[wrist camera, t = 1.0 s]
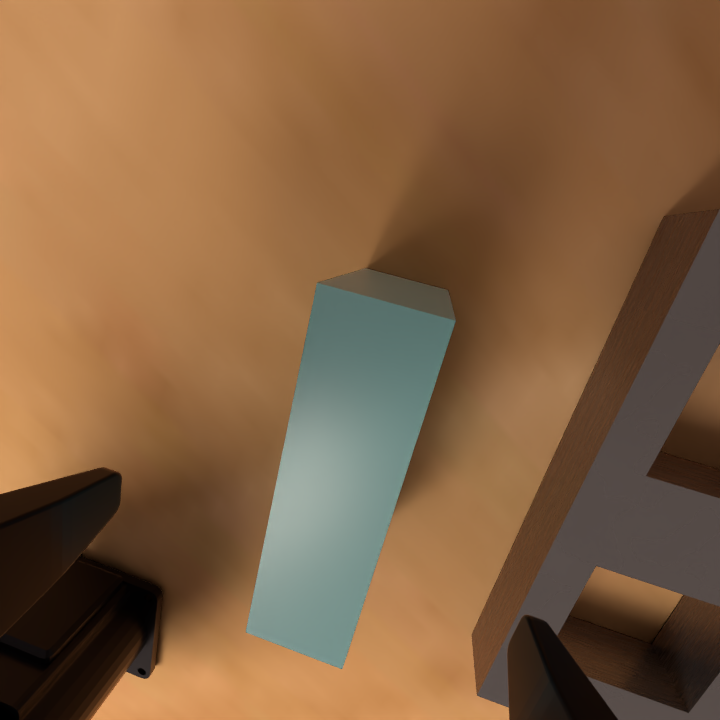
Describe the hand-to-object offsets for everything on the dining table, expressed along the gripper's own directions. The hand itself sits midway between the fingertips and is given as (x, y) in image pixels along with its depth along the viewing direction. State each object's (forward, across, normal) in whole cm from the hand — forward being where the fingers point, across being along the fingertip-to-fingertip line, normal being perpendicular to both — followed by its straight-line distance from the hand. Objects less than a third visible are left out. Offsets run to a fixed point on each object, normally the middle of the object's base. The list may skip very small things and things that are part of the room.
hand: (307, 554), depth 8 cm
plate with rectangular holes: (+8, -11, 0) cm, 13 cm away
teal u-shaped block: (+8, 0, 0) cm, 8 cm away
